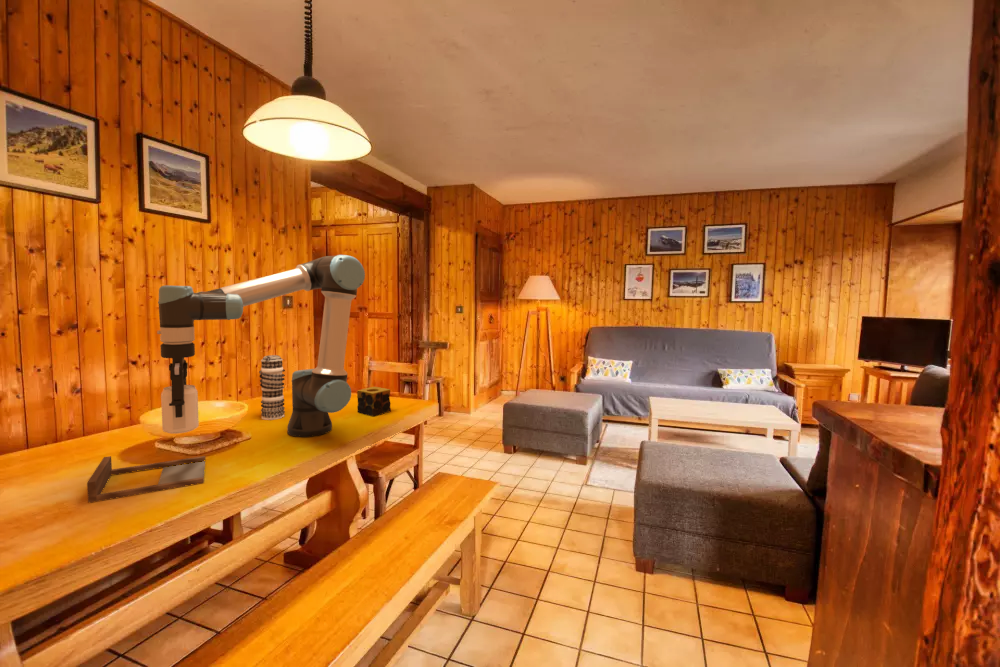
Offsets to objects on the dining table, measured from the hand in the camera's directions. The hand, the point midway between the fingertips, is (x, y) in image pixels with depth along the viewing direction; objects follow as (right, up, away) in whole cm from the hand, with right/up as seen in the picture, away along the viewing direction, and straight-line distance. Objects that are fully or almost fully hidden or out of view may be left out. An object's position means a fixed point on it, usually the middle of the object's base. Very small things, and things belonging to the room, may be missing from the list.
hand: (180, 423), depth 121 cm
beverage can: (0, -2, 0) cm, 2 cm away
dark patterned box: (+34, -9, +68) cm, 77 cm away
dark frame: (-6, -14, -2) cm, 16 cm away
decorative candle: (-4, -9, +57) cm, 58 cm away
